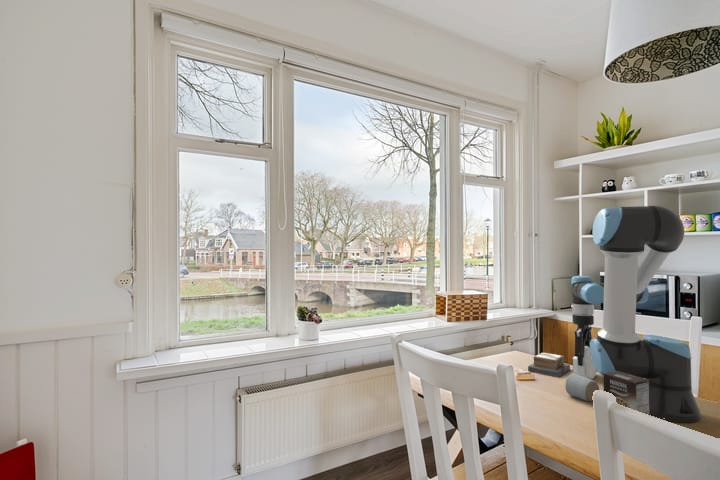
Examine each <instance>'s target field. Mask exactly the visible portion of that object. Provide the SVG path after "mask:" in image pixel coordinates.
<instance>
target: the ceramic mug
mask: <svg viewBox="0 0 720 480" xmlns="http://www.w3.org/2000/svg"><path fill="white" fill-rule="evenodd" d="M565 390H566V393H567V394H568V395H569V396H571V397H575V398H577V399H579V400H580V399H581V400H583V401H586V402H593V401H592V396H593V392H594V391H595V390H599V391H600V387H599V384H598V383H597V382H596V381H595V380H593V379H590V378H586V377H583V376H581V375H578V374H576V373H573V372H572V373H570V374H569V375H568V376H567V378H566V380H565Z"/></svg>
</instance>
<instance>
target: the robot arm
mask: <svg viewBox="0 0 720 480" xmlns="http://www.w3.org/2000/svg"><path fill="white" fill-rule="evenodd" d="M591 232H592V241H593V242H594V244H595V245H597V246H598V247H599V251H600V252H601V254H603V255H604V275H603V276H604V277H603V278H604V279H603V282H593V276H590V275H574V276H572V277H571V284H570V285H571V305H570V307H571V308H572V313H573V314H572V323H573V325H577V327H576V330H574V355H573V357H577V373H579V374H585V357H584V350H585V345H589V346H590V352H591V357H592V360H593V363H594V366H595V368H596V372H598V374H600V375H601V376H603V374H604V373H607V372H614V371H619V372H623V373H626V374H630V375H633V376H637V377H640V378H644V379H648V380H649V416H650V415H652V416H651V417H653V416H655V417H654V418H656V417H658V418H657V419H659V418H660V419H659V420H663V418H665V419H664V421H669V422H673V421H674V423H681V422H682V423H685V424H686V423H687V424H688V423H690V424H691V423H697V422H699V421H700V420H701V412H700V411H701V410H700V408H699V406H698V404H697V401H696V398H695V396H694V394H693V389H692V388H693V387H692V355H691V349H690V346H689V344H688V343H687V342H684V341H682V340H679V339H675V338H671V337H666V336H662V335H655V334H644V335H643V338H642V339H641V336H640V335H639V334H638V333H637V332H636V317H637V315H636V314H637V304H644V303H646V302H648V300H649V297H650V296H649V295H650V294H649V288H648V285H650V282H651V281H652V279H653V278H655V275H656V274H657V272H658V271H659V270H660V268H661V266H662V265H663V264H664V262H665V261H666V260H667V258H668V256H669V255H670V254H671V253H673V252H676V251H677V250H678V248H679V247H680V246H681V244H682V243H683V240H684V237H685V226H684V223H683V221H682V219H681V218H680V216H679V215H678V214H677V213H676V212H674V211H673V210H671V209H670V208H667V207H665V206H661V205H649V206H646V205H644V206H642V205H641V206H639V205H638V206H613V207H606V208H605V207H604V208H602V209H601V210H599V212H598V213H597V215H596V216H595V218H594V221H593V225H592V231H591ZM600 304H603V311H602V312H603V314H602V315H603V318H602V320H603V321H602V328H601V329H599V330H598V331H597V333H596V334H597V336H596V338H595V337H594V338H592V337H593V334H592V333H593V331H592V330H593V329H592V325H594V323H595V321H594V313H595V312H594V305H600ZM579 353H580V354H579ZM676 421H677V422H676Z"/></svg>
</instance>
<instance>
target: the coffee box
mask: <svg viewBox="0 0 720 480" xmlns="http://www.w3.org/2000/svg"><path fill="white" fill-rule="evenodd" d="M602 376H603V392H604V391H606V392H609V393H612V394H613V395H614V396H615V397H616V402H617V403H618V404H620V405H623V406H625V407H628V408H631V409H633V410H637V411H639V412H642V413H645V414H648V415H649V380H648V379H645V378H640V377H637V376H633V375H630V374H626V373H623V372H619V371H614V372H607V373H604V374H603V375H602ZM649 416H650V415H649Z"/></svg>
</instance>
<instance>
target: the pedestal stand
mask: <svg viewBox="0 0 720 480" xmlns="http://www.w3.org/2000/svg"><path fill="white" fill-rule="evenodd" d="M570 370H571V365H570V364H568V363H565V357H564V355H560V354H556V353H555V354H554V353H549V352H541V353H538V354H536V355H534V356H533V363H532V364H529V365H528V366H527V372H530V371H532V372H531V373H535V372H536V374H539V375H540V374H541V375H544V376H545V375H546V376H552V377H555V378H560V377H561V376H562V375H564V374H565V373H567V372H568V371H570Z"/></svg>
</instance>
